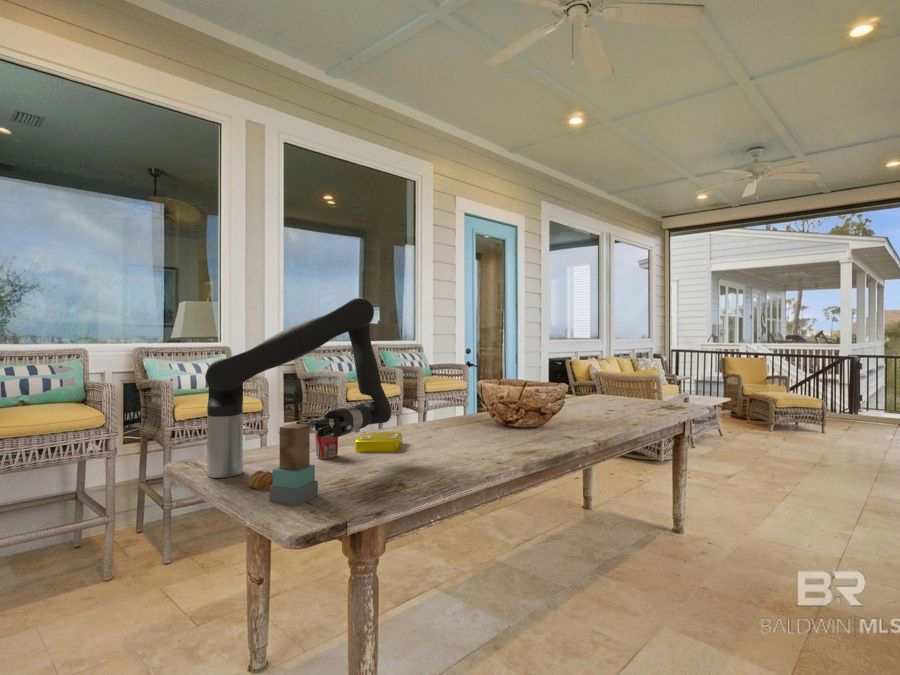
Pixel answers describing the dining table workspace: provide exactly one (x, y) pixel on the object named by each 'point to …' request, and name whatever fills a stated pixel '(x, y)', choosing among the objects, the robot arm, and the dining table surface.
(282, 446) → the walnut pillar
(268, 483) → the pastry
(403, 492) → the dining table surface
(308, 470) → the tower top slab
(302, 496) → the tower base slab
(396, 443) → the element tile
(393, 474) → the dining table surface
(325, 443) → the soda can
